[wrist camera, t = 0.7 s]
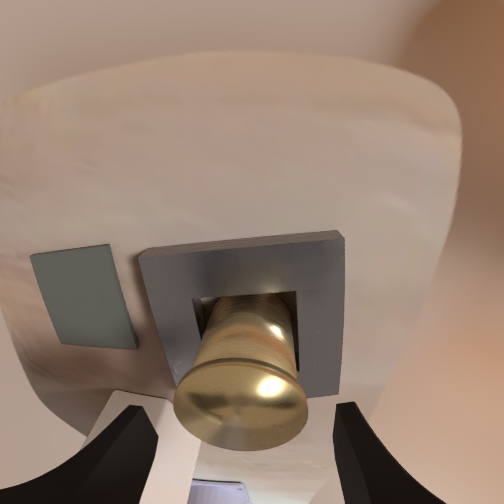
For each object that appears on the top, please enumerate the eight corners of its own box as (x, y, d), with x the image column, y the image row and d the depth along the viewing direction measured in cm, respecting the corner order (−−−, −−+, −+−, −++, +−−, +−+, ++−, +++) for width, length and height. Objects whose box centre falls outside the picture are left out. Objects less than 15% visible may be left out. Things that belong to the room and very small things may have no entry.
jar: (87, 396, 20) (27, 498, 9) (150, 376, 19) (85, 520, 7) (152, 455, 22) (120, 552, 11) (220, 444, 21) (199, 568, 9)
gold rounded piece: (297, 355, 17) (307, 448, 11) (214, 359, 18) (191, 448, 11) (293, 277, 16) (308, 363, 9) (198, 285, 16) (155, 367, 9)
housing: (334, 378, 18) (338, 394, 16) (186, 386, 19) (181, 401, 17) (337, 230, 15) (344, 238, 13) (148, 248, 15) (138, 257, 14)
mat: (139, 346, 18) (137, 349, 17) (63, 341, 18) (61, 343, 18) (109, 243, 16) (106, 245, 15) (33, 254, 16) (29, 255, 16)
